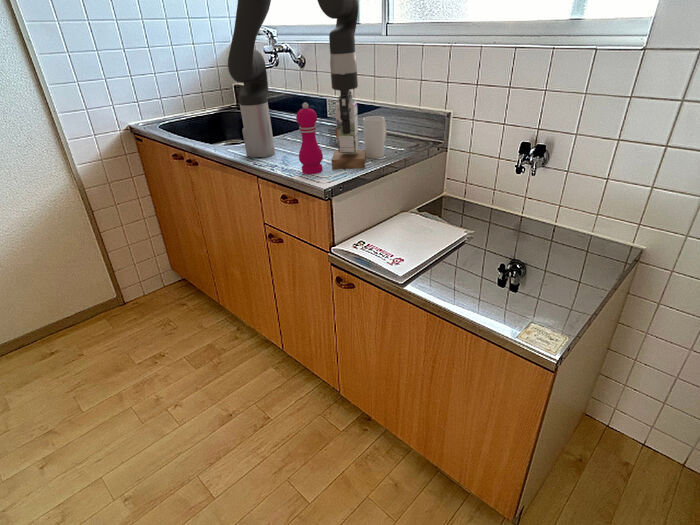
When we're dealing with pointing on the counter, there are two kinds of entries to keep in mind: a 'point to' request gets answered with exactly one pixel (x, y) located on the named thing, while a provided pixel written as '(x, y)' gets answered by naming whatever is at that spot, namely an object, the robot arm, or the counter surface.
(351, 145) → the syrup box
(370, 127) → the mug
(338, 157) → the walnut base
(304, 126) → the pepper mill
